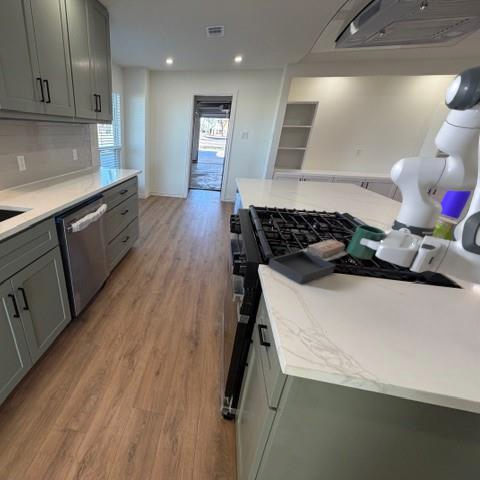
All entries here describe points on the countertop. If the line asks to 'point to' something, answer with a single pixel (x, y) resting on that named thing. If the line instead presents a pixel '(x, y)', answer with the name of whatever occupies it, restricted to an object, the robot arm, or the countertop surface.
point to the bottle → (454, 203)
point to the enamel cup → (364, 237)
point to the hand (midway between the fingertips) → (364, 237)
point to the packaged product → (327, 250)
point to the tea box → (444, 227)
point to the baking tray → (301, 266)
